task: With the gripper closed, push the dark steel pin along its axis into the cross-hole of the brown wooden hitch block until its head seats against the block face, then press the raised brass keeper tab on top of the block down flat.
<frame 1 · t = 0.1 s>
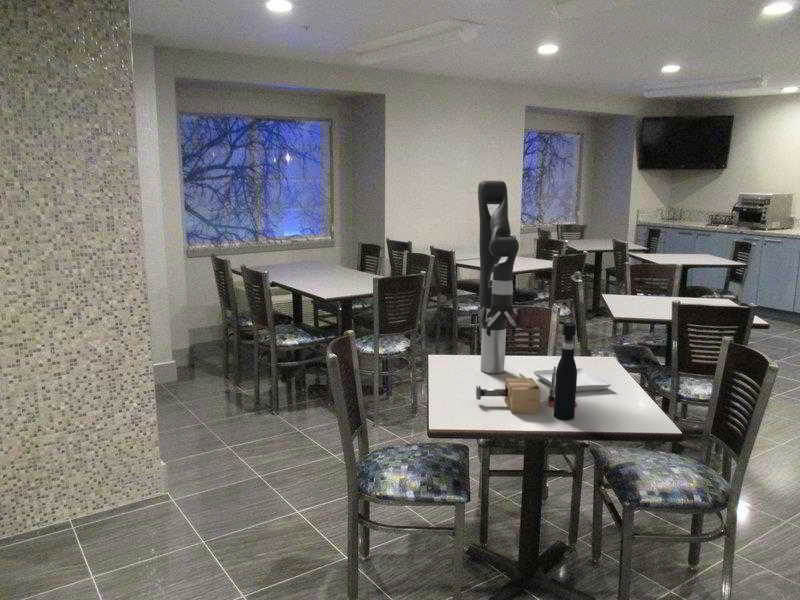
hand: (500, 336, 234), 17 cm above the table, tool pointing down, fingers open, 8 cm apart
keeper: (527, 379, 205), point 11 cm above the table, hinge at 35.0°
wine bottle: (563, 417, 202), on the table
hitch block: (521, 406, 210), on the table
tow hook: (562, 404, 214), on the table
pin: (496, 392, 212), point 4 cm above the table, slide at 0.0 cm
salad plate: (570, 386, 235), on the table
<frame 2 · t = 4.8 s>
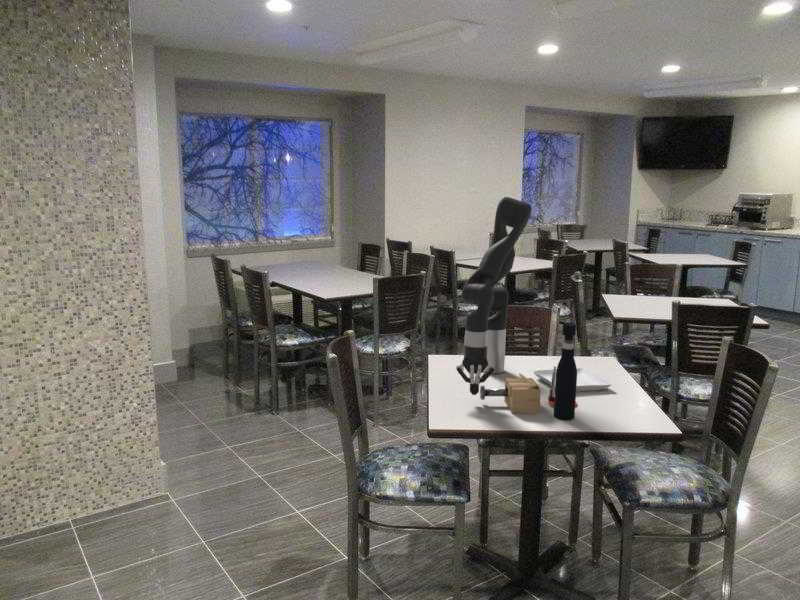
hand: (473, 394, 212), 3 cm above the table, tool pointing down, fingers closed
pin: (500, 392, 212), point 4 cm above the table, slide at 1.4 cm, touching gripper
everything else where it was.
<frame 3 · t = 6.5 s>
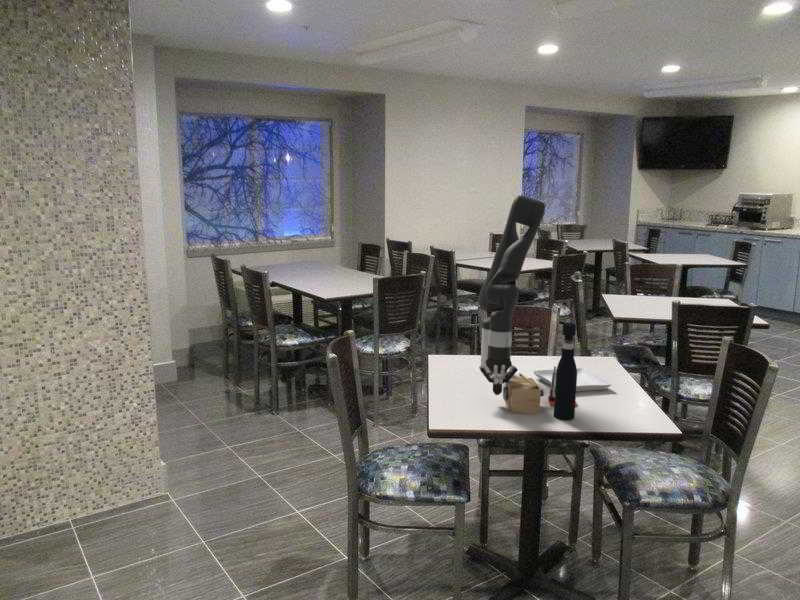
hand: (496, 394, 212), 3 cm above the table, tool pointing down, fingers closed
pin: (523, 392, 212), point 4 cm above the table, slide at 9.0 cm, touching gripper, hitch block
everything else where it was.
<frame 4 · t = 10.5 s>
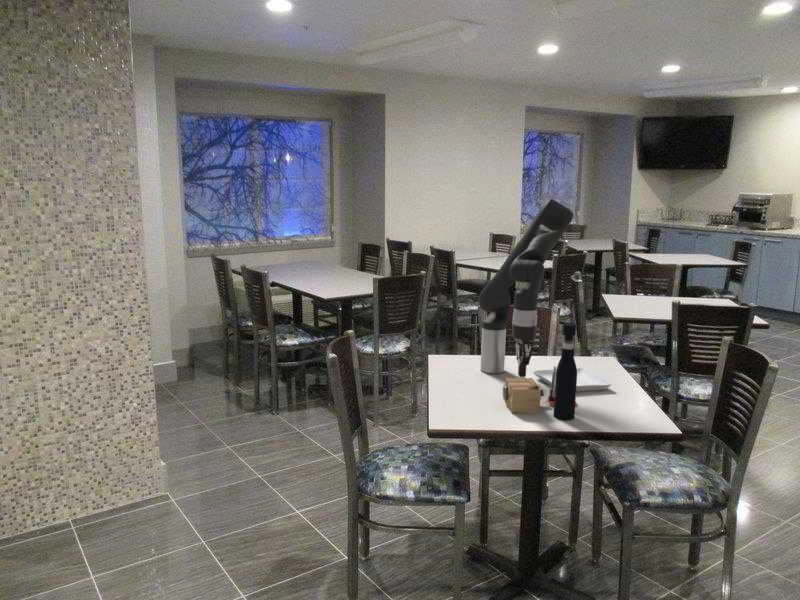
hand: (521, 375, 204), 12 cm above the table, tool pointing down, fingers closed
keeper: (526, 380, 205), point 10 cm above the table, hinge at 33.8°, touching gripper
pin: (523, 392, 212), point 4 cm above the table, slide at 9.0 cm, touching hitch block
everything else where it was.
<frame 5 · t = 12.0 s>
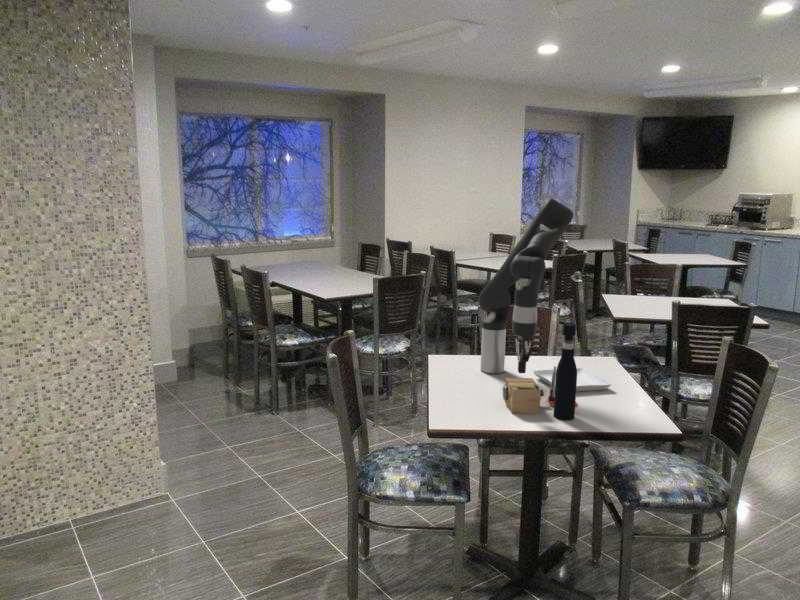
hand: (521, 372, 204), 13 cm above the table, tool pointing down, fingers closed
keeper: (524, 385, 205), point 9 cm above the table, hinge at 3.9°
everything else where it was.
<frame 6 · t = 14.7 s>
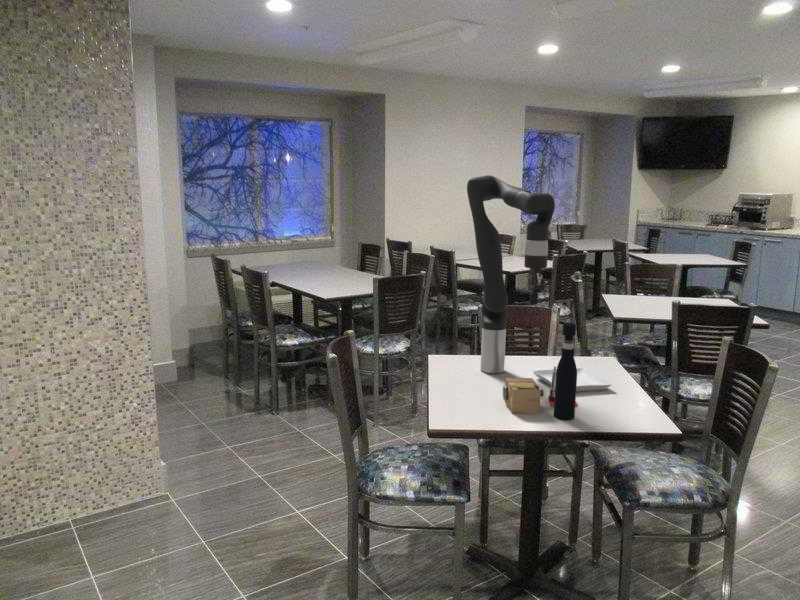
hand: (533, 304, 218), 32 cm above the table, tool pointing down, fingers closed
keeper: (524, 385, 205), point 9 cm above the table, hinge at 3.6°
everything else where it was.
at the end: pin slide at 9.0 cm; keeper at +4° (first picture: +35°); keeper touching nothing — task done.
